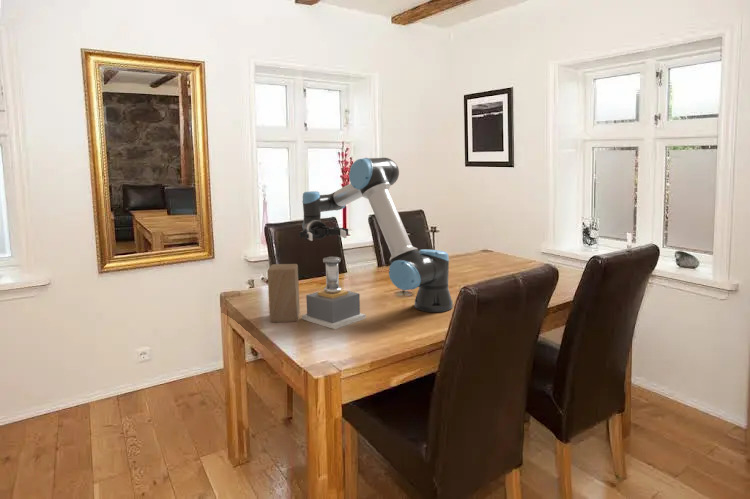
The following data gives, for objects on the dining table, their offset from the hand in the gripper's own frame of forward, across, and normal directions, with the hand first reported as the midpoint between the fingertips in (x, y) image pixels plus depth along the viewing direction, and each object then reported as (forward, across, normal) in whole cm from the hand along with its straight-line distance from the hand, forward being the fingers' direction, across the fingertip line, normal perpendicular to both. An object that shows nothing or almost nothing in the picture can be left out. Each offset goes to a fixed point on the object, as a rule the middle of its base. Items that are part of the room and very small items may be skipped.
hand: (328, 236), depth 207 cm
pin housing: (+13, +2, -30) cm, 32 cm away
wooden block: (+6, +20, -30) cm, 36 cm away
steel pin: (+13, +2, -27) cm, 30 cm away
